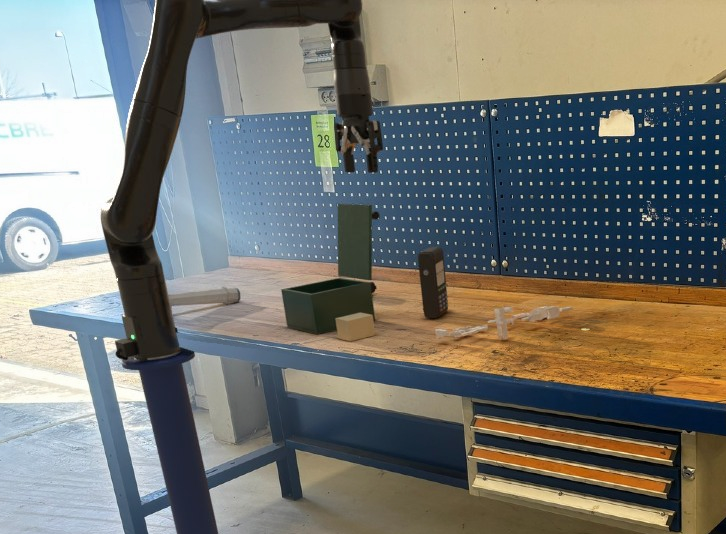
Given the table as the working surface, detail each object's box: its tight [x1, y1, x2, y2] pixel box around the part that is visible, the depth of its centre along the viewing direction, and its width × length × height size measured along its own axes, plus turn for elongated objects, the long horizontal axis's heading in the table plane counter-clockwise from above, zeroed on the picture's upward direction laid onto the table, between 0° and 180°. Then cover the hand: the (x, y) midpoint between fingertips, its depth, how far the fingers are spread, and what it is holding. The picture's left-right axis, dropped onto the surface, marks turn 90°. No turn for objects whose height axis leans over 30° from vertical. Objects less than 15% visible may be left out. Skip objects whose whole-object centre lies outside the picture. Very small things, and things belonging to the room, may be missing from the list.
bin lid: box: [337, 203, 380, 281], centre depth 196 cm, size 16×13×6 cm
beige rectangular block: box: [335, 313, 376, 342], centre depth 181 cm, size 6×5×4 cm
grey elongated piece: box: [434, 305, 574, 341], centre depth 177 cm, size 6×35×12 cm
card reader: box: [417, 246, 449, 319], centre depth 194 cm, size 9×4×15 cm, turn 168°
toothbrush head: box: [168, 286, 241, 310], centre depth 219 cm, size 5×7×25 cm
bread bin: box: [280, 277, 376, 335], centre depth 194 cm, size 16×13×9 cm
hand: (361, 172), depth 187 cm, fingers open, 8 cm apart
